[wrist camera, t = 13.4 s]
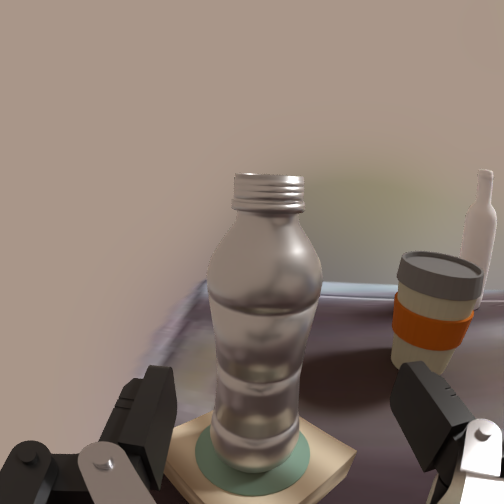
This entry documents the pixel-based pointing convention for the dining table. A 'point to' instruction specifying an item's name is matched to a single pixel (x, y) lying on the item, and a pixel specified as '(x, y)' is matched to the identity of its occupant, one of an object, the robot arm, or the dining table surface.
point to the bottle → (480, 228)
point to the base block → (255, 484)
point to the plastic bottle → (261, 321)
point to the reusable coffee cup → (433, 307)
